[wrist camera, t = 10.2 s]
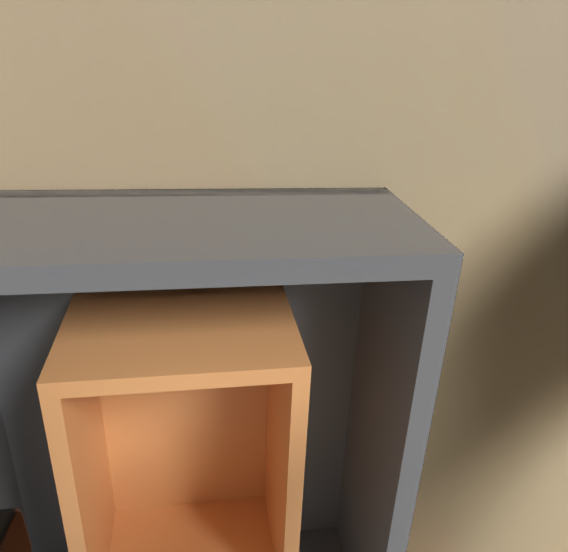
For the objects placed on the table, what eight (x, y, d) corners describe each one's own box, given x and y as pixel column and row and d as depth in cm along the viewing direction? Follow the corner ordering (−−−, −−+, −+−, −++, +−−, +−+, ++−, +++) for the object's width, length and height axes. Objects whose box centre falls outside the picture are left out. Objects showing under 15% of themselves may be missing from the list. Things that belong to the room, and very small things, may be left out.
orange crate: (282, 285, 19) (311, 366, 15) (274, 494, 23) (295, 607, 19) (73, 293, 18) (35, 383, 13) (105, 511, 22) (84, 635, 18)
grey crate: (385, 187, 19) (463, 253, 14) (345, 521, 26) (386, 653, 20) (-62, 190, 17) (-180, 271, 11) (25, 557, 24) (-23, 714, 18)
